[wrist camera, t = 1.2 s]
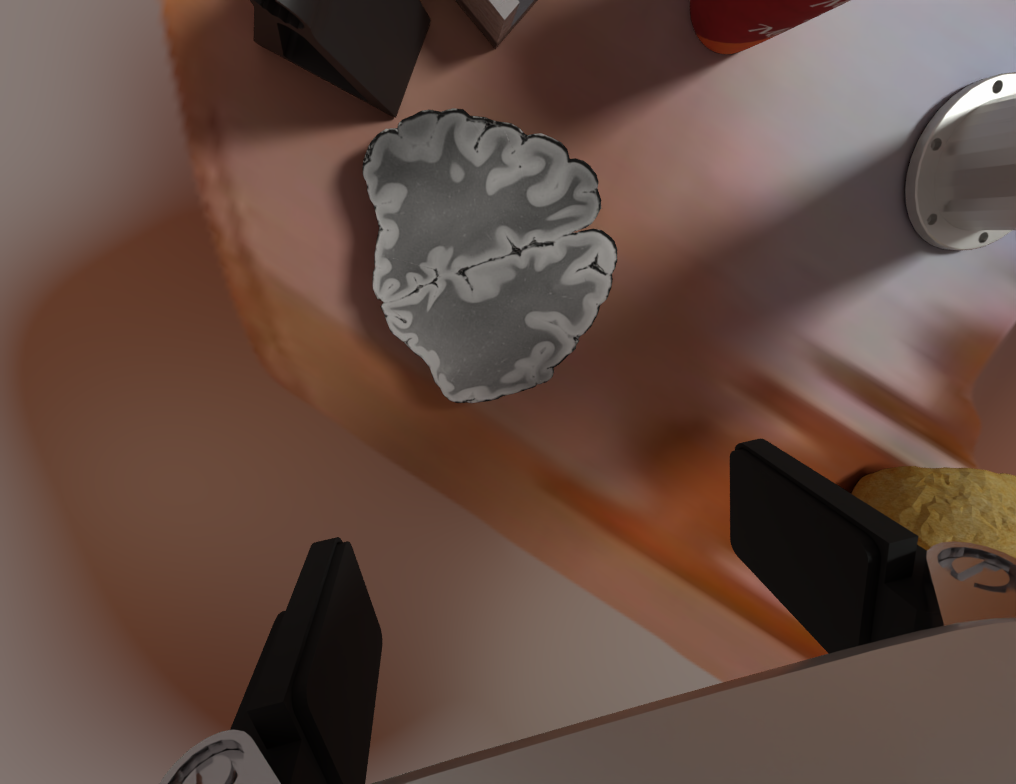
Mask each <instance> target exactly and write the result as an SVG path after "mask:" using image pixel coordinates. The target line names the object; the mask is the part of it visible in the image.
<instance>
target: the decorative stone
mask: <svg viewBox="0 0 1016 784" xmlns="http://www.w3.org/2000/svg"><path fill="white" fill-rule="evenodd" d="M851 494H852V495H854V496H855V497H857V498H859V499H860V500H862V501H863V502H865V503H867V504H868V505H870V506H871V507H873V508H875V509H876V510H878V511H879V512H881V513H883V514H884V515H886V516H887V517H889V518H891V519H892V520H894V521H895V522H897V523H899V524H900V525H902V526H903V527H905V528H907V529H908V530H910V531H911V532H913V533H914V534H916V535H918V543H917V545H919V546H920V547H922V548H923V549H925V550H927V551H928V550H929V549H930V548H931V547H932V546H933V545H936V544H939V543H942V542H954V541H956V542H967V543H973V544H978V545H982V546H987V547H990V548H993V549H995V550H998V551H1001V552H1004V553H1006V554H1008V555H1010V556H1012V557H1014V558H1016V476H1014V475H1010V474H997V473H994V472H990V471H987V470H980V469H972V468H920V467H916V466H902V467H895V468H888V469H883V470H880V471H878V472H875V473H872V474H868V475H866V476H864V477H862V478H861V479H860V480H859V482H858V483H857V484H856V486H855V487H854V489H853V491H852V493H851Z"/></svg>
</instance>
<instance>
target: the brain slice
mask: <svg viewBox="0 0 1016 784" xmlns="http://www.w3.org/2000/svg"><path fill="white" fill-rule="evenodd" d="M363 176H364V178H365V180H366V182H367V191H368V194H369V197H370V200H371V202H372V203H373V205H374V208H375V212H376V216H377V220H378V225H379V232H378V237H377V243H376V249H375V260H374V264H375V269H374V271H373V290H374V292H375V294H376V297H377V299H380V300H382V301H383V302H384V303H383V304H382V305H381V308H382V310H383V312H384V314H385V318H386V321H387V323H388V326H389V328H390V331H391V332H392V333H393V334H394V335H395V336H396V337H397V338H398V339H400V340H402V341H403V342H404V343H405V344H406V345H407V346H408V347H409V348H410V349H411V350H412V351H413V352H414V353H415V354H416V355H418V356H420V357H421V358H422V359H423V360H424V361H425V362H426V363H427V365H428V366H429V367H430V370H431V373H432V376H433V379H434V381H435V383H436V384H437V385H438V386H439V387H440V389H441V391H442V393H443V395H444V396H446V397H447V398H448V399H449V400H450V401H453V402H456V403H465V402H468V403H476V402H485V401H491V400H494V399H498V398H500V397H502V396H505V395H510V394H514V393H517V392H520V391H524V390H527V389H530V388H533V387H535V386H536V385H537V384H541V383H545V382H547V381H548V380H549V379H551V378H552V376H553V373H554V369H553V368H554V367H556V366H557V365H559V364H560V363H561V362H562V361H563V360H564V359H565V358H566V357H567V356H568V355H569V354H570V353H572V352H573V351H574V350H575V349H576V345H577V343H578V342H579V339H578V338H579V337H580V336H581V335H582V334H584V333H586V331H587V330H588V329H589V328H590V327H591V326H592V324H593V322H594V320H595V318H596V316H597V314H598V311H599V307H600V305H601V304H602V303H603V302H604V301H605V300H606V299H607V297H608V295H609V292H610V289H611V285H612V280H613V278H612V273H613V271H614V269H615V267H616V263H617V247H616V244H615V241H614V240H613V239H612V238H611V237H610V236H609V235H607V234H606V233H605V232H603V231H602V230H597V229H589V230H584V231H580V232H578V233H571V232H574V231H577V230H580V229H583V228H586V227H588V226H589V225H590V224H592V222H593V221H594V219H595V218H596V217H597V215H598V213H599V211H600V209H601V198H600V195H599V192H598V189H597V187H598V179H597V175H596V173H595V172H594V171H593V169H592V168H591V167H590V166H589V165H588V164H587V163H586V162H584V161H582V160H579V159H570V158H569V155H568V151H567V148H566V147H565V146H564V145H563V144H562V143H561V142H559V141H557V140H555V139H553V138H552V137H549V136H547V135H544V134H542V133H540V134H531V135H526V134H524V133H523V132H522V130H521V129H520V128H518V127H517V126H515V125H513V124H511V123H505V122H499V121H494V120H491V119H488V118H486V117H477V116H470V115H469V114H468V113H466V112H465V111H464V110H463V109H449V110H445V111H442V112H439V111H434V110H425V111H420V112H419V113H417V114H415V115H413V116H410V117H408V118H405V119H403V120H402V121H401V122H400V123H399V124H398V128H393V129H385V130H384V131H382V132H380V133H379V134H377V136H376V137H375V138H374V139H373V140H372V141H371V143H370V145H369V147H368V149H367V152H366V155H365V158H364V162H363Z"/></svg>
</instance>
